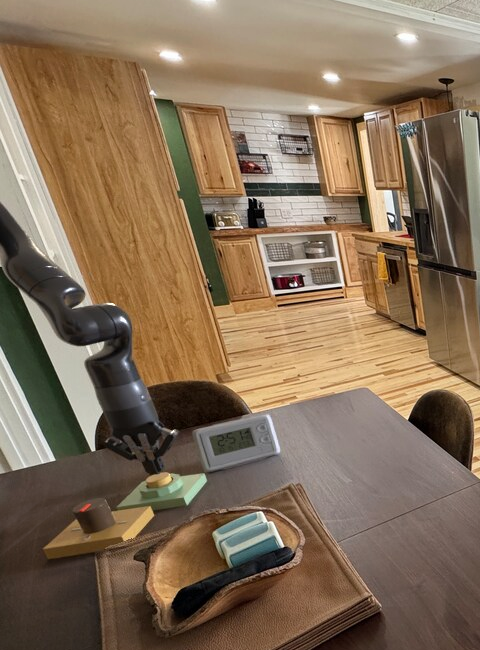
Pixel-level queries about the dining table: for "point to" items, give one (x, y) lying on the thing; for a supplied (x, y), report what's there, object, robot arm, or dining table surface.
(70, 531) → the lock plate
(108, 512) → the lock turn
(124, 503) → the block
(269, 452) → the digital clock
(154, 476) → the bell button
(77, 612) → the dining table surface
